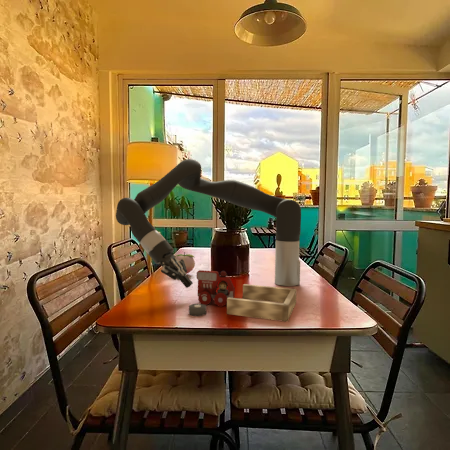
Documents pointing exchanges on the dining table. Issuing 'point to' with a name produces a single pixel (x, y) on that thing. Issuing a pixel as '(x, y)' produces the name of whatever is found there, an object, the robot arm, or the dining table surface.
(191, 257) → the decorative fruit
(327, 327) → the dining table surface
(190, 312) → the spare wheel
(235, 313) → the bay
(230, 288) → the toy fire truck
